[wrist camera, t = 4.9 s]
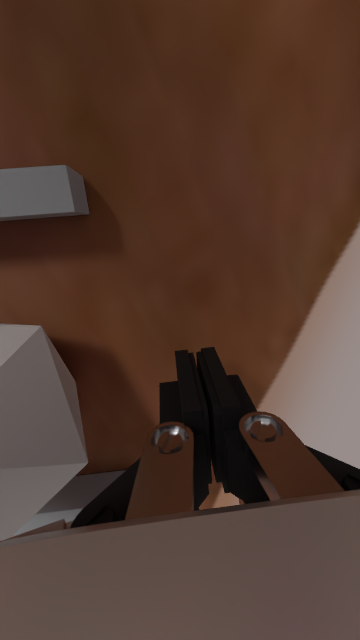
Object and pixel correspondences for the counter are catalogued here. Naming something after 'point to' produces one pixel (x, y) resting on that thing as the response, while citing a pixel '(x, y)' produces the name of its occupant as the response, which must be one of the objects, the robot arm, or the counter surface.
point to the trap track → (43, 202)
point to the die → (35, 425)
